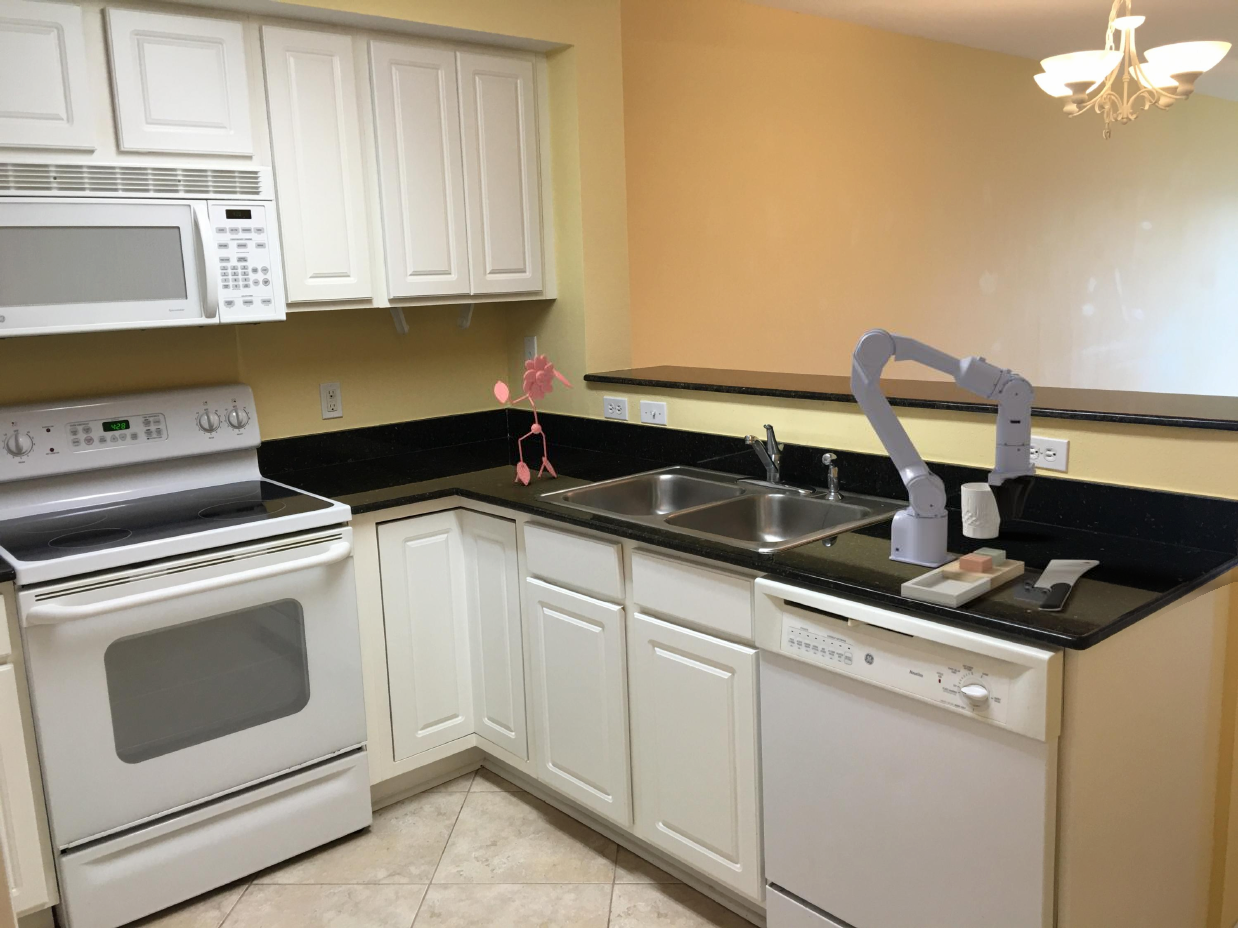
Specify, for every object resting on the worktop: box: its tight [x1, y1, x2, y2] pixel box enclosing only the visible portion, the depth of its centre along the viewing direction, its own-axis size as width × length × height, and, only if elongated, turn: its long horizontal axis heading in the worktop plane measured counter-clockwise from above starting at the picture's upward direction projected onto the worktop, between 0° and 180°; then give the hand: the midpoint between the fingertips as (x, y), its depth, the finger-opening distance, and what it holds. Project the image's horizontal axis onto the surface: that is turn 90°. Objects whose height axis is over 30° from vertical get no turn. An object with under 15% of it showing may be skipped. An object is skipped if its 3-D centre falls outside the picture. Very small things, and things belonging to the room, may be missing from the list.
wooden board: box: [937, 558, 1025, 591], centre depth 172 cm, size 10×13×2 cm
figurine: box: [493, 354, 574, 487], centre depth 269 cm, size 15×26×35 cm, turn 140°
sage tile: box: [972, 547, 1007, 567], centre depth 173 cm, size 4×4×2 cm
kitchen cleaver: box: [1033, 559, 1100, 614], centre depth 167 cm, size 31×2×10 cm
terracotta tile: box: [958, 552, 993, 573], centre depth 170 cm, size 4×4×2 cm
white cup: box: [960, 482, 1001, 540], centre depth 200 cm, size 8×8×10 cm
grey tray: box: [900, 568, 991, 609], centre depth 164 cm, size 10×12×2 cm
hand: (1010, 518), depth 178 cm, fingers open, 3 cm apart
